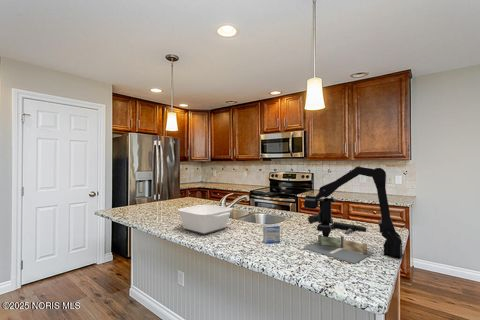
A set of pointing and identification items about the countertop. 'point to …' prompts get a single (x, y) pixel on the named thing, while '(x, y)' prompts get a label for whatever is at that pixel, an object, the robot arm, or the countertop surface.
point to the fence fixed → (354, 246)
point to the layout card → (338, 253)
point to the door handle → (347, 227)
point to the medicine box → (271, 234)
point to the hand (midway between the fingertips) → (325, 240)
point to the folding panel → (328, 241)
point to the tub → (204, 218)
